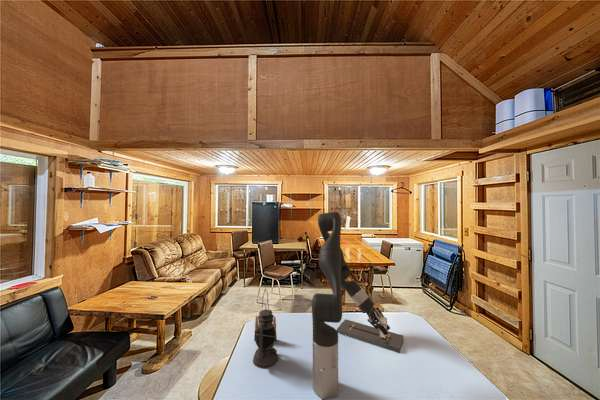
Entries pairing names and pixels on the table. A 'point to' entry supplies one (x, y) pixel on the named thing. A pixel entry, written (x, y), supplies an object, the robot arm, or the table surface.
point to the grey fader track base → (371, 335)
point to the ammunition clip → (257, 326)
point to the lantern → (265, 339)
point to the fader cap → (384, 323)
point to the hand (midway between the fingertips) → (387, 331)
